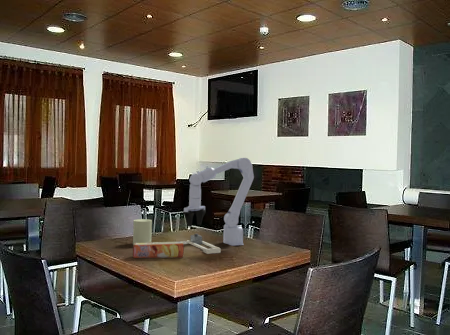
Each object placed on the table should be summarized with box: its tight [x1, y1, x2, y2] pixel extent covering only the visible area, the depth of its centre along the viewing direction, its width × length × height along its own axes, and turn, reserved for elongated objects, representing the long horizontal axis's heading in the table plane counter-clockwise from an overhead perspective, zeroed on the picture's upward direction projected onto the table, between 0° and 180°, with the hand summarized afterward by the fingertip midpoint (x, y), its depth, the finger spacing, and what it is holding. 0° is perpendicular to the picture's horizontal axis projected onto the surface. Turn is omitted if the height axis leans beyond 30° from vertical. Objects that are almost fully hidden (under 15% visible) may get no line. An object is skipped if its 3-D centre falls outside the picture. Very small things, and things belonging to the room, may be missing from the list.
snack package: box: [132, 240, 185, 259], centre depth 182 cm, size 21×7×7 cm, turn 98°
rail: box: [186, 239, 222, 255], centre depth 203 cm, size 7×24×2 cm, turn 27°
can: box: [132, 218, 153, 245], centre depth 212 cm, size 9×9×12 cm
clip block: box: [189, 233, 203, 245], centre depth 210 cm, size 4×5×5 cm
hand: (194, 225), depth 212 cm, fingers open, 7 cm apart
